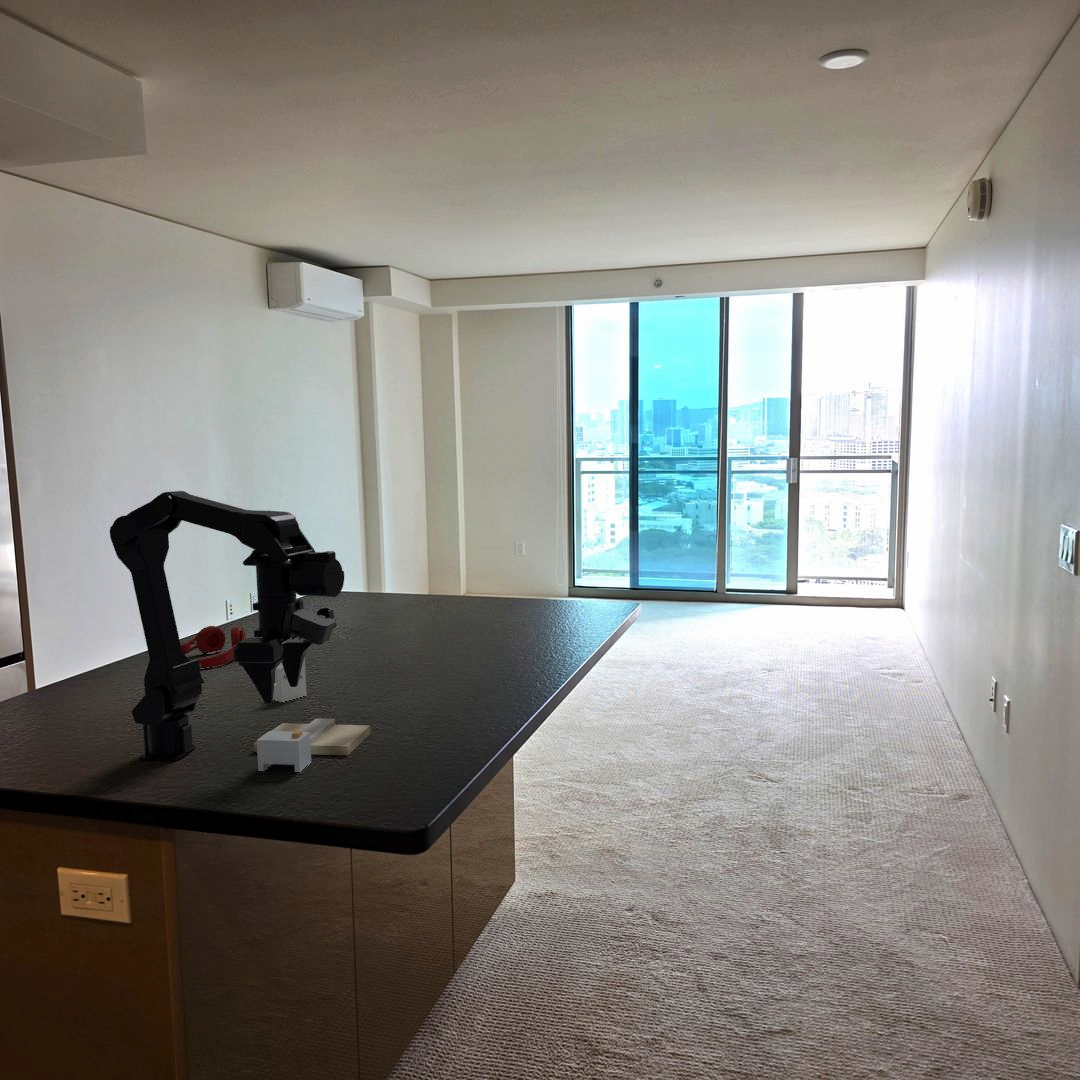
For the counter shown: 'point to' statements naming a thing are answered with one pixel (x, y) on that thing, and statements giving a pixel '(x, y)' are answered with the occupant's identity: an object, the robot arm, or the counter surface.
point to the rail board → (329, 736)
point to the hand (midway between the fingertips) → (281, 694)
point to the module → (284, 749)
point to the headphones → (214, 645)
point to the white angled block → (283, 688)
